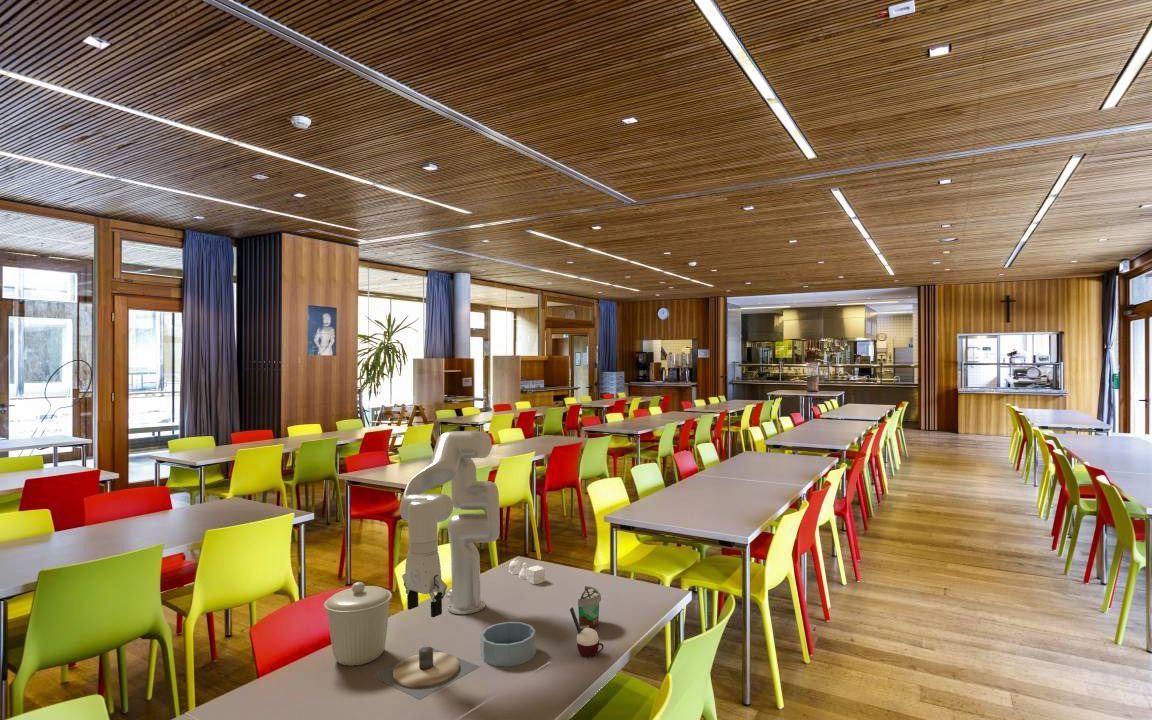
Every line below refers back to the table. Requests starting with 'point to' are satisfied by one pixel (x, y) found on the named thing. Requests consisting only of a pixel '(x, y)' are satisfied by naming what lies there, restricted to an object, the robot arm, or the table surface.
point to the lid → (425, 669)
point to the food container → (589, 608)
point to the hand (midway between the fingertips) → (424, 611)
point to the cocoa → (586, 639)
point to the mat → (420, 693)
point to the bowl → (508, 644)
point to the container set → (527, 572)
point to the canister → (358, 623)
